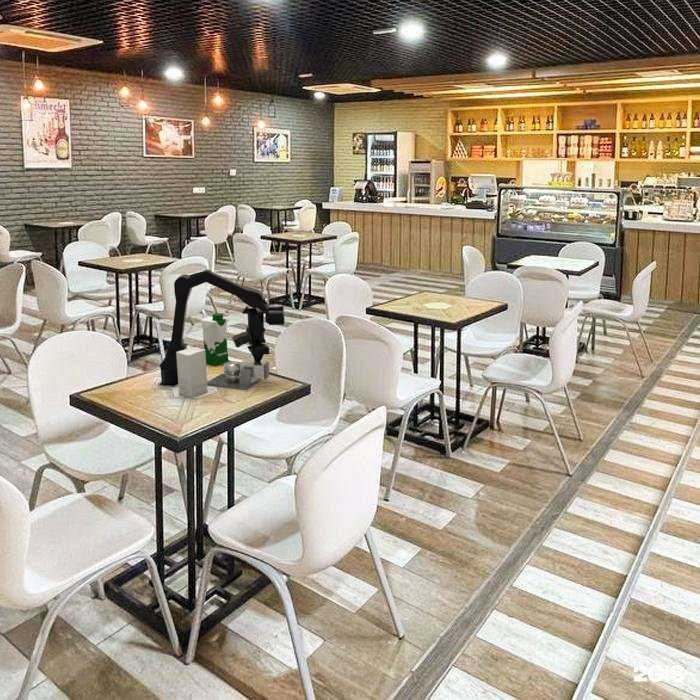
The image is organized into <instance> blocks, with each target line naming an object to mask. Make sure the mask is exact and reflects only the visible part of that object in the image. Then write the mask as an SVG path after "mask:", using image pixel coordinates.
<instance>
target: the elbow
mask: <svg viewBox="0 0 700 700" xmlns="http://www.w3.org/2000/svg"><path fill="white" fill-rule="evenodd" d="M240 369H251V377H253V378H261V379H264V380H267V379H268V378H269V377H270V362H269V361H266V362H260V363H257V362H254V361H253V362H252V361H236V360H232V361H230V360H229V362H226V363H224V364H223V374H238V373H240Z"/></svg>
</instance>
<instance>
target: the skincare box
mask: <svg viewBox="0 0 700 700" xmlns="http://www.w3.org/2000/svg"><path fill="white" fill-rule="evenodd" d="M176 355H177V370H178V385H177V386H178V395H180V396H183V397H187V398H191V399H192V398H194V397H196V396H199V395H202V394H204V393H207V392H208V386H207V382H208V373H207V364H206V354H205V349H204V348H201V347H196V346H192V347H188V348H186V349H185V350H182V351H178V352H176Z"/></svg>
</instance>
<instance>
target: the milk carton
mask: <svg viewBox="0 0 700 700" xmlns="http://www.w3.org/2000/svg"><path fill="white" fill-rule="evenodd" d="M228 320H229V318H228V317H224V315H223V313H220V312H219V313H218V312H217V313H212V316H209V317H205V318H202V319H200V324H201V328H202V333H203V334H202V335H203V336H202V338H203V349H205V354H206V365H209V366H212V367H213V366H214V367H217V366H218V367H219V366H221V365H224V363H226V362H230V360H229V352H228V332H227V331H228V330H227V327H228V322H229V321H228Z"/></svg>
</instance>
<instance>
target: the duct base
mask: <svg viewBox="0 0 700 700" xmlns="http://www.w3.org/2000/svg"><path fill="white" fill-rule="evenodd" d="M261 379H262V378H253V377H251V369H240V373H238V374H226V373H220V374H218V375H217V376H215V377H213V378H212V379H210V380H207V387H215V388H225V389H232V390H241V391H247V390H248V389H250V388H251V387H253V386H254V385H256V384H258V383H259V382H261Z"/></svg>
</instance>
